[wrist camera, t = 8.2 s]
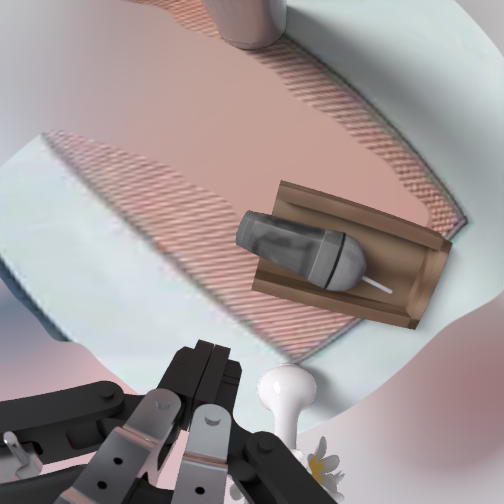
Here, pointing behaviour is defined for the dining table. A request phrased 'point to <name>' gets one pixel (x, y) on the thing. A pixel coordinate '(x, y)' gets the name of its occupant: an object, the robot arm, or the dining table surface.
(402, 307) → the u rest
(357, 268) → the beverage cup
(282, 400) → the flower vase
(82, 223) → the dining table surface
